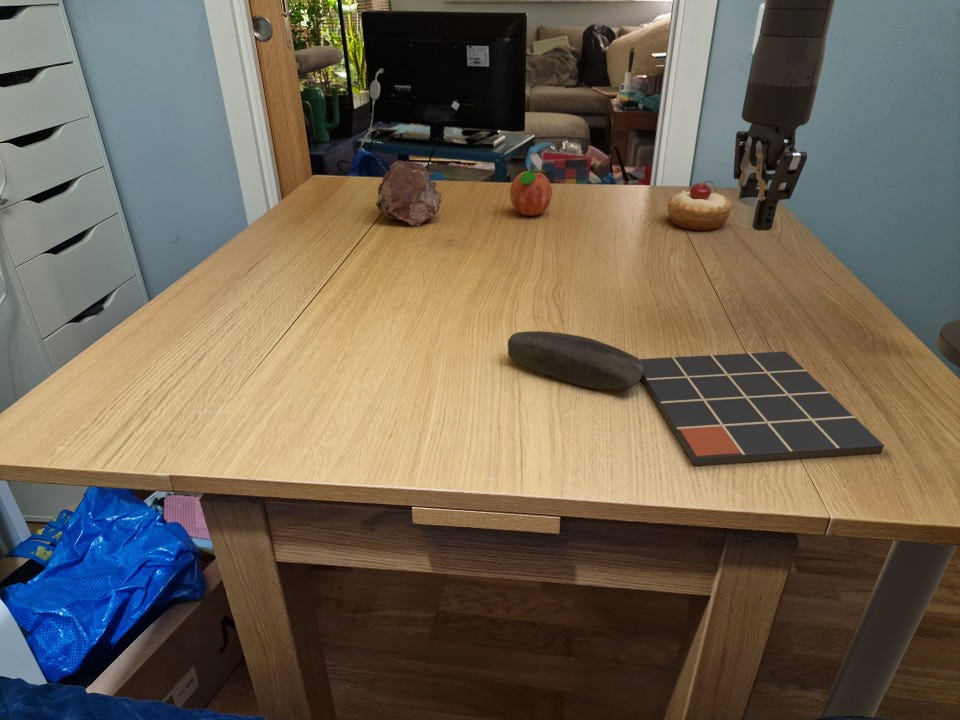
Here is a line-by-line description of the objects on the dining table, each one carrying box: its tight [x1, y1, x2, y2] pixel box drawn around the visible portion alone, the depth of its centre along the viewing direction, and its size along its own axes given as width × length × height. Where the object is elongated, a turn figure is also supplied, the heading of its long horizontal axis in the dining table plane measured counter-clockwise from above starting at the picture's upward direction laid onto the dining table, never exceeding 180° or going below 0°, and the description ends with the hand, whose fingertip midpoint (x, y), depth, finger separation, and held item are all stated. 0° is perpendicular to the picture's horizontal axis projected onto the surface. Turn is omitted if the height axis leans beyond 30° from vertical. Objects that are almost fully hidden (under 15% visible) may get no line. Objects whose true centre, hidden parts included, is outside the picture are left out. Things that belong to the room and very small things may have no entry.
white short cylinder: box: [733, 197, 759, 231], centre depth 84 cm, size 4×4×3 cm
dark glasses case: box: [507, 330, 645, 391], centre depth 81 cm, size 17×6×4 cm, turn 65°
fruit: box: [509, 164, 553, 217], centre depth 136 cm, size 9×10×10 cm
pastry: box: [667, 180, 733, 232], centre depth 131 cm, size 12×12×9 cm
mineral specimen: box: [375, 160, 442, 227], centre depth 134 cm, size 12×13×15 cm
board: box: [639, 350, 885, 467], centre depth 75 cm, size 20×20×1 cm
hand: (752, 222), depth 85 cm, fingers closed on white short cylinder, 4 cm apart
